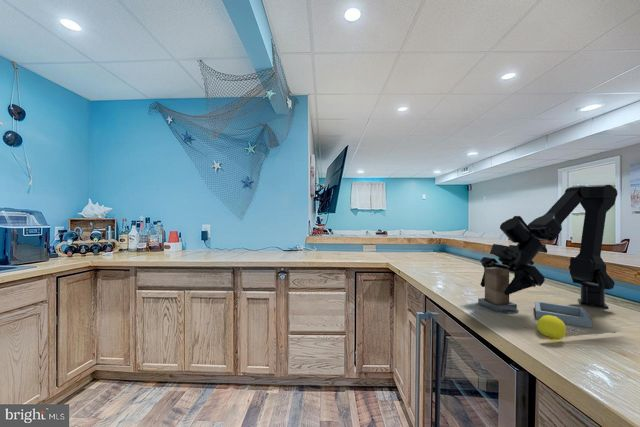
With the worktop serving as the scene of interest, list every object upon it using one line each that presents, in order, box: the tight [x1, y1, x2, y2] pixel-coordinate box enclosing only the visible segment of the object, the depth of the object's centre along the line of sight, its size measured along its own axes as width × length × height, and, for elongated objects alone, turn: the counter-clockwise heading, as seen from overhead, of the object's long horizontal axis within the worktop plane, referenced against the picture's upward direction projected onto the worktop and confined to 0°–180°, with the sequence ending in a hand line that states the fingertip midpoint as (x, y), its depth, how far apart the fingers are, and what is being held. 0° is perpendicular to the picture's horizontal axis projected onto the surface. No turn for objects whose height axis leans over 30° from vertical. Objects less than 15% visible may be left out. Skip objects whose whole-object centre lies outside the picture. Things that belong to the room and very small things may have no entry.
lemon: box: [536, 315, 567, 340], centre depth 66 cm, size 7×5×5 cm
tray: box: [534, 300, 593, 329], centre depth 78 cm, size 11×11×3 cm
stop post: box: [484, 267, 510, 305], centre depth 85 cm, size 4×4×12 cm
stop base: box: [476, 297, 520, 315], centre depth 85 cm, size 11×11×3 cm
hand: (492, 289), depth 85 cm, fingers open, 9 cm apart
